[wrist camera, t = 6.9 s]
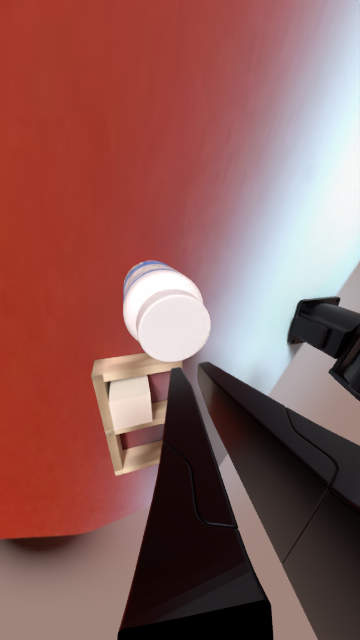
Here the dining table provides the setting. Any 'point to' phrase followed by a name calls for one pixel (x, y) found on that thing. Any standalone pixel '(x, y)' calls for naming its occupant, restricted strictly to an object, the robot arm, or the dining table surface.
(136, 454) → the caddy
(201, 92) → the dining table surface
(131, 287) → the pill bottle
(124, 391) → the cream block
